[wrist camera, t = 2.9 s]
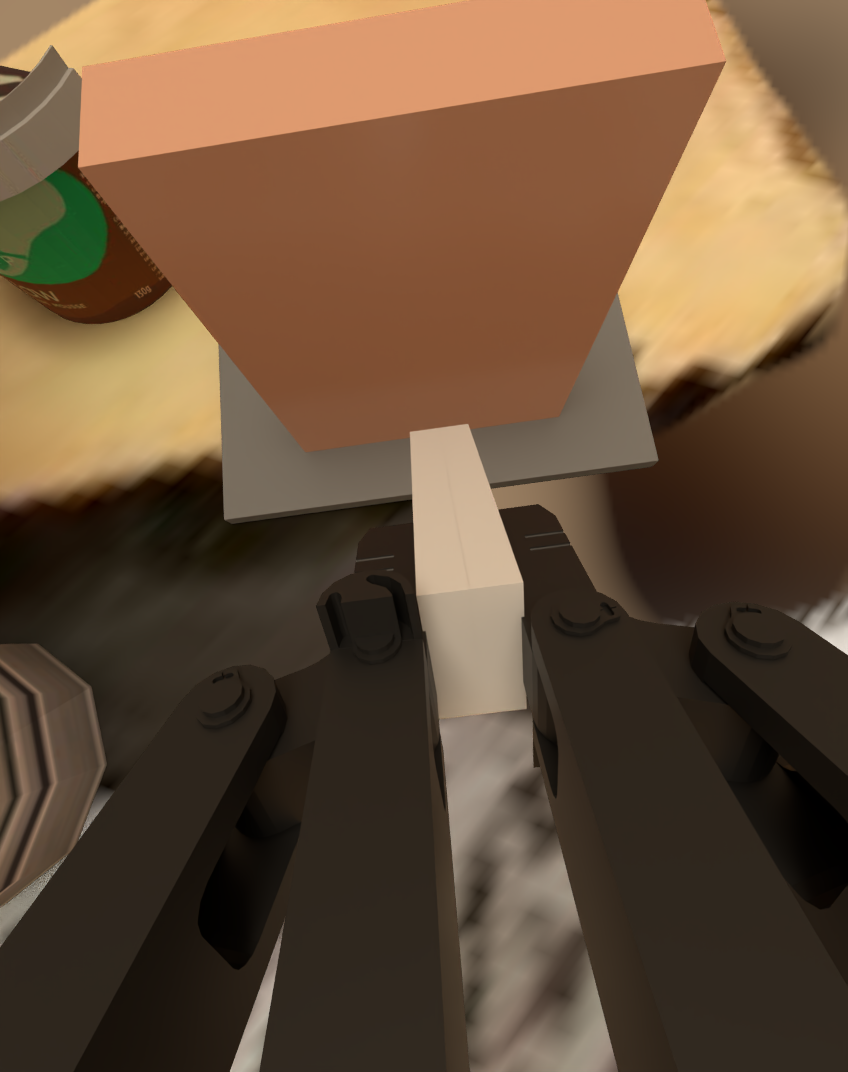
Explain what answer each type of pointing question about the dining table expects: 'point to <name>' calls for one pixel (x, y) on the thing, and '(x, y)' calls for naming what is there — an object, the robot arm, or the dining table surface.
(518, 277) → the tile
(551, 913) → the dining table surface
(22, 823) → the can
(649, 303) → the dining table surface
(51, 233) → the food container
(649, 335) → the dining table surface
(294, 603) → the dining table surface
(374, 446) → the mat
